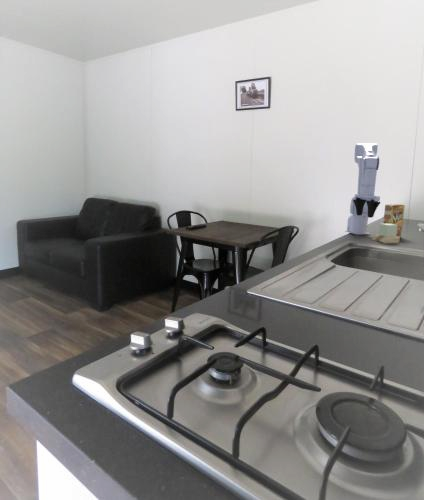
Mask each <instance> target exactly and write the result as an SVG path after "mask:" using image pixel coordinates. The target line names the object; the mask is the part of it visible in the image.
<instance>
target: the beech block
mask: <svg viewBox="0 0 424 500" xmlns="http://www.w3.org/2000/svg"><path fill="white" fill-rule="evenodd" d="M400 238H401V237H398V236H396V237H385V236H381V235H378V234H374V241H376V242H380V243H382V242H383V243H382V244H399V243H400Z"/></svg>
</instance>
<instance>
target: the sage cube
mask: <svg viewBox="0 0 424 500" xmlns="http://www.w3.org/2000/svg"><path fill="white" fill-rule="evenodd" d="M397 226H398V225H394V224H389V223H387V224H383V223H379V226H378V227H379V229H378V234H377V235H381V236H385V237H396V234H397Z"/></svg>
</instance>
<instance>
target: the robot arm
mask: <svg viewBox="0 0 424 500" xmlns="http://www.w3.org/2000/svg"><path fill="white" fill-rule="evenodd" d="M378 146H379V145H378V144H377V143H376V142H375V143H355V145H354V156H353V157H354V162H355V163H356V164H357V166H358V177H357V179H358V180H357V193H356V194H354V196H353V197H352V198H351V200H350V206H349V214H350V216H349V217H348V219H347V226H346V230H345V231H344V232H346V233H349V234H354V235H358V236H359V235H360V236H361V235H371V232H367V230H368V223H369V218H374V216H375V212H376V210H377V209H378V207H379V206H380V204H381V201H380V199H381V196H377V195H375V190H376V189H375V188H376V181H377V173H378V170H379V167H380V157H379V156H377V153H378Z"/></svg>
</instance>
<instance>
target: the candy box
mask: <svg viewBox="0 0 424 500" xmlns="http://www.w3.org/2000/svg"><path fill="white" fill-rule="evenodd" d="M405 207H406V206H405V204H400V203H399V204H398V203H396V204H395V203H393V204H392V203H391V204H385V205H384V215H383V223H382V224H387V223H389V224H394V225H398V226H397V234H396V236H398V237H400V238H402V232H403V223H404V217H405V216H404V215H405Z"/></svg>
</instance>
